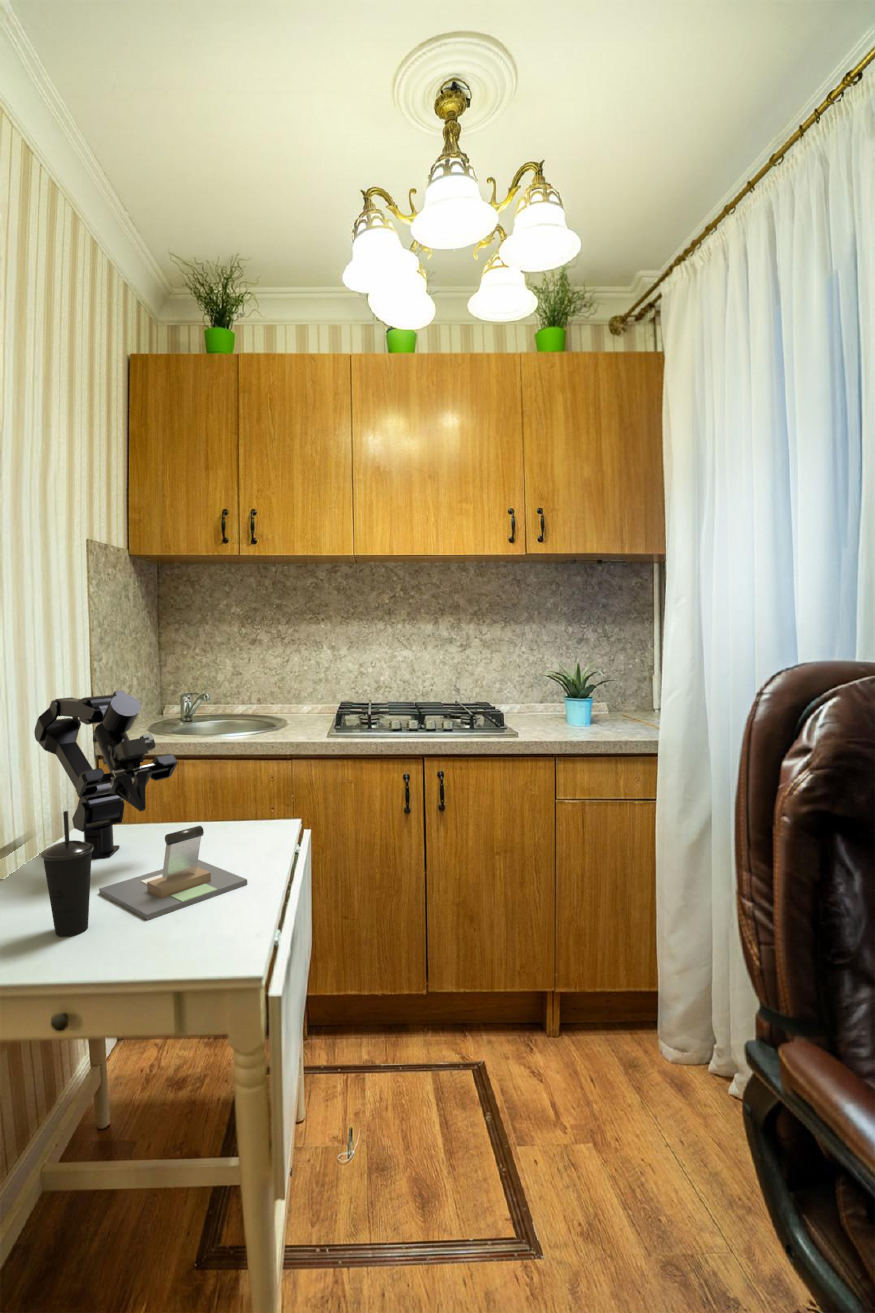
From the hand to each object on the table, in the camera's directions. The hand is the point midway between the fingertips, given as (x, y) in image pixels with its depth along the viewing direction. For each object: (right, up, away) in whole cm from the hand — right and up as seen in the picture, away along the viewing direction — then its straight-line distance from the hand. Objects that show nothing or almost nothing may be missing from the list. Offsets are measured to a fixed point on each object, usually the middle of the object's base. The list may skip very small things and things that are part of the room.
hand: (143, 810), depth 140 cm
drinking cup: (-3, -15, -22) cm, 27 cm away
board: (+8, -14, -5) cm, 17 cm away
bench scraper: (+10, -11, -7) cm, 16 cm away
